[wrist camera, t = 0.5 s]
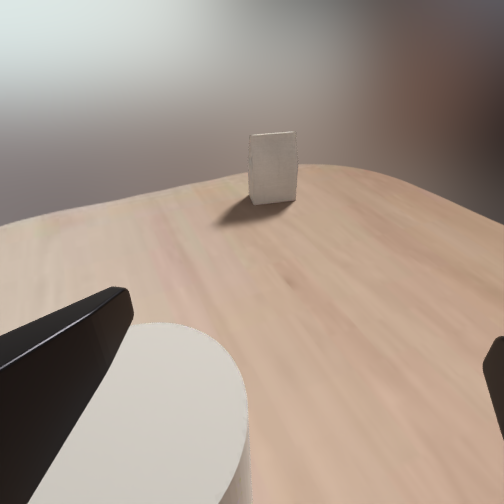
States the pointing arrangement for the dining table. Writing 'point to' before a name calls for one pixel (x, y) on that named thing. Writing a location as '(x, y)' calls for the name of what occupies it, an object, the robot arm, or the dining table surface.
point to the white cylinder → (159, 427)
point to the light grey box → (272, 167)
